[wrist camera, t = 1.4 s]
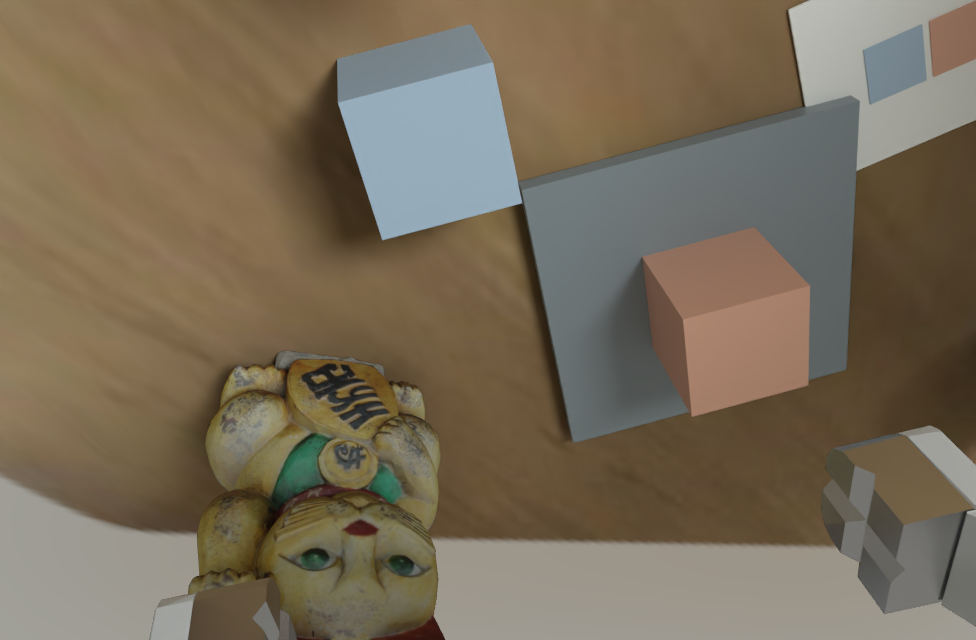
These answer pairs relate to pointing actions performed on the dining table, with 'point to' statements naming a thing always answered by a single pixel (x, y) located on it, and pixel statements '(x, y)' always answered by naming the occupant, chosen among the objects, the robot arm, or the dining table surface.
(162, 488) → the dining table surface
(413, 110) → the blue brick
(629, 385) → the plate
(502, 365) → the dining table surface
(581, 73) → the dining table surface
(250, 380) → the decorative figurine
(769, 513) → the dining table surface
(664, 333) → the base brick
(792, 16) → the page
